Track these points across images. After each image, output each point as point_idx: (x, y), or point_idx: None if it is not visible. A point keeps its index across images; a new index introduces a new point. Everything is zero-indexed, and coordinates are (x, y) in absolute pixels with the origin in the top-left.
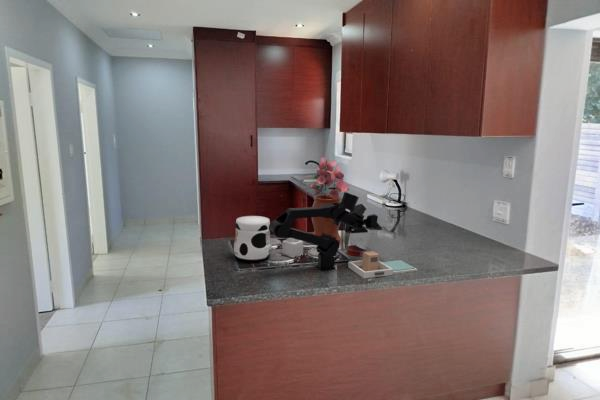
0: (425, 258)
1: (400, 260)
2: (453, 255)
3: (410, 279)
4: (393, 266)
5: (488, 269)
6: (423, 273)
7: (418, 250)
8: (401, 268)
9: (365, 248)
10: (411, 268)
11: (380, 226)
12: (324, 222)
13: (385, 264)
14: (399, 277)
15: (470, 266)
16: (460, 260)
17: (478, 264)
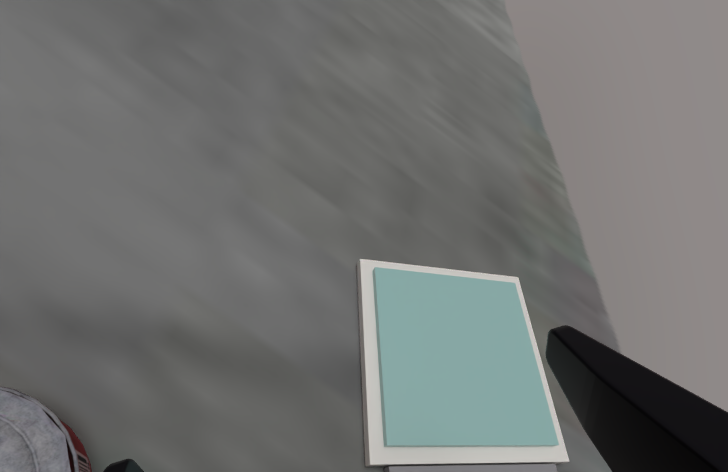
0: (334, 113)
1: (380, 273)
2: (333, 8)
3: None
4: (489, 403)
5: (499, 48)
6: (544, 276)
7: (199, 48)
8: (527, 371)
9: (23, 419)
10: (519, 305)
11: (626, 361)
12: None
13: (442, 441)
14: None
15: (466, 62)
16: (397, 36)
17: (449, 31)
